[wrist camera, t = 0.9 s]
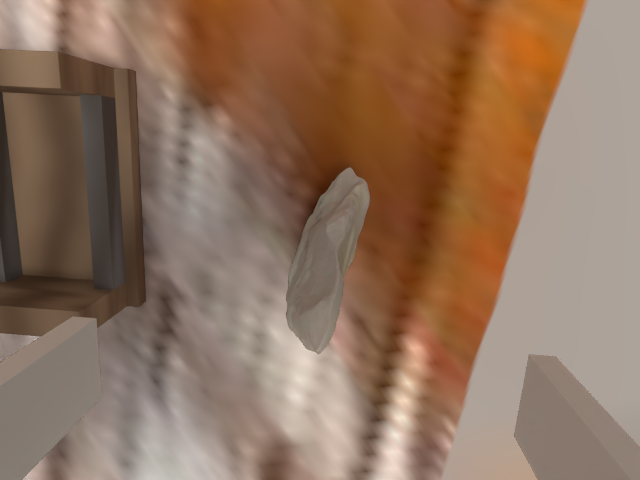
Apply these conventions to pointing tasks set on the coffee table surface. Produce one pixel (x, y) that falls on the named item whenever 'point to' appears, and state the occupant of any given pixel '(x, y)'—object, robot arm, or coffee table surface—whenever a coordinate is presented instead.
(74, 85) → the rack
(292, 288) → the stone tool
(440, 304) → the coffee table surface
